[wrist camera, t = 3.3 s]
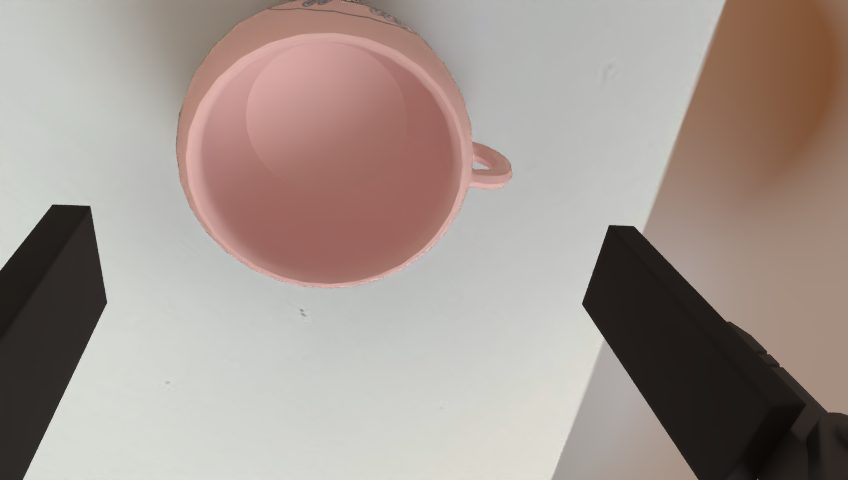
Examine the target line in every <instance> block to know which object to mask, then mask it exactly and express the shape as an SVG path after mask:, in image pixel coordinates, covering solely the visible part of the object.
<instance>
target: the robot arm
mask: <svg viewBox="0 0 848 480" xmlns="http://www.w3.org/2000/svg"><path fill="white" fill-rule="evenodd" d="M106 304H107V299H106V293H105V288H104V282H103V276H102V271H101V265H100V259H99V253H98V248H97V242H96V236H95V230H94V225H93V219H92V213H91V207H90V206H78V205H52V206H51V207H50V209H49V210H48V211H47V212H46V214H45V215H44V216H43V218H42V219H41V220H40V221H39V223H38V224H37V225H36V226H35V228H34V229H33V230H32V231H31V233H30V234H29V235H28V236H27V238H26V239H25V240H24V241H23V243H22V244H21V245H20V247H19V248H18V249H17V250H16V252H15V253H14V254H13V255H12V257H11V258H10V259H9V260H8V262H7V263H6V264H5V265H4V267H3V268H2V269H1V270H0V480H23V478H24V476H25V474H26V472H27V470H28V468H29V465H30V463H31V461H32V459H33V457H34V455H35V453H36V451H37V449H38V447H39V444H40V442H41V440H42V438H43V436H44V434H45V432H46V430H47V428H48V426H49V423H50V421H51V419H52V417H53V415H54V413H55V411H56V409H57V407H58V405H59V402H60V400H61V398H62V396H63V394H64V392H65V390H66V388H67V386H68V384H69V381H70V379H71V377H72V375H73V373H74V371H75V369H76V367H77V365H78V363H79V360H80V358H81V356H82V354H83V352H84V350H85V348H86V346H87V344H88V342H89V339H90V337H91V335H92V333H93V331H94V329H95V327H96V325H97V323H98V321H99V318H100V316H101V314H102V312H103V310H104V308H105V306H106ZM582 305H583V307H584V308H585V310H586V311H587V313H588V314H589V316H590V317H591V319H592V320H593V322H594V323H595V325H596V326H597V328H598V329H599V331H600V332H601V334H602V335H603V337H604V338H605V340H606V341H607V343H608V344H609V345H610V347H611V349H612V350H613V352H614V353H615V355H616V356H617V358H618V359H619V361H620V362H621V364H622V365H623V367H624V368H625V370H626V371H627V372H628V374H629V376H630V377H631V379H632V380H633V382H634V383H635V385H636V386H637V388H638V389H639V391H640V392H641V394H642V395H643V397H644V398H645V400H646V401H647V403H648V404H649V406H650V407H651V409H652V410H653V412H654V413H655V415H656V416H657V418H658V419H659V421H660V423H661V424H662V426H663V427H664V429H665V430H666V432H667V433H668V435H669V436H670V438H671V439H672V441H673V442H674V443H675V445H676V447H677V448H678V450H679V451H680V452H681V454H682V456H683V457H684V459H685V460H686V462H687V463H688V465H689V466H690V468H691V469H692V471H693V472H694V474H695V475H696V477H697V478H698V480H757V479H758V480H848V415H845V414H842V413H828V412H827V411H826V410H825V409H824V408H823V407H822V406H821V405H820V404H819V403H818V402H817V401H816V400H815V399H814V398H813V397H812V396H811V395H810V394H809V393H808V392H807V391H806V390H805V389H804V388H803V387H802V386H801V385H800V384H799V383H798V382H797V381H796V380H795V379H794V378H793V377H792V376H791V375H790V374H789V373H788V372H787V371H786V370H785V369H784V368H783V367H780V366H779V363H778V362H777V361H776V360H775V359H774V358H773V357H772V356H771V355H770V354H767V351H766V350H765V349H764V348H763V347H762V346H761V345H760V344H759V343H758V342H757V341H756V340H755V339H754V338H753V337H752V336H751V335H750V334H748V333H747V332H745V331H744V330H742V329H741V328H739V327H738V326H736V325H734V324H733V323H731V322H726V321H725V320H724V319H723V318H722V317H721V316H720V315H719V314H718V313H717V312H716V311H715V310H714V309H713V308H712V306H710V304H709V303H708V302H707V301H706V300H705V299H704V298H703V297H702V296H701V295H700V294H699V293H698V292H697V291H696V290H695V289H694V288H693V287H692V286H691V285H690V284H689V283H688V282H687V281H686V280H685V279H684V278H683V277H682V276H681V275H680V274H679V272H677V271H676V269H675V268H674V267H673V266H672V265H671V264H670V263H669V262H668V261H667V260H666V259H665V258H664V257H663V256H662V255H661V254H660V253H659V252H658V251H657V250H656V249H655V248H654V247H653V246H652V245H651V244H650V242H649V241H647V239H646V238H645V237H643V235H642V234H641V233H640V232H639V231H638V230H637V229H636V228H635V227H634V226H616V225H609V227H608V230H607V233H606V236H605V239H604V242H603V244H602V247H601V250H600V253H599V256H598V259H597V262H596V265H595V268H594V271H593V274H592V276H591V279H590V282H589V285H588V288H587V291H586V294H585V297H584V300H583V303H582Z"/></svg>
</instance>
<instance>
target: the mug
mask: <svg viewBox="0 0 848 480" xmlns="http://www.w3.org/2000/svg"><path fill="white" fill-rule="evenodd" d="M176 154H177V161H178V168H179V176H180V182H181V184H182V187H183V190H184V192H185V195H186V197H187V200H188V203H189V205H190V208H191V210H192V211H193V213H194V214H195V216H196V217H197V219H198V220H199V222H200V223H201V225H202V226H203V228H204V229H205V231H206V232H207V233H208V234H209V235H210V236H211V237H212V238H213V239H214V240H215V241H216V242H217V243H218V244H219V245H220V246H221V247H222V248H223V249H224V250H225V251H226V252H227V253H229V254H230V255H232V256H233V257H235V258H236V259H238V260H239V261H241V262H242V263H244V264H245V265H247V266H248V267H250V268H251V269H253V270H255V271H257V272H259V273H262V274H264V275H266V276H269V277H271V278H273V279H276V280H278V281H283V282H287V283H291V284H295V285H300V286H304V287H319V288H337V287H347V286H356V285H360V284H364V283H367V282H371V281H375V280H378V279H382V278H384V277H386V276H388V275H390V274H392V273H394V272H396V271H399V270H401V269H403V268H405V267H406V266H408V265H409V264H411V263H412V262H413V261H415V260H416V259H418V258H419V257H420V256H422V255H423V254H425V253H426V252H427V251H428V250H429V249H430V248H431V247H432V246H433V245H434V244H435V243H436V242H437V241H438V240H439V239H440V237H441V236H442V235H443V234H444V233H445V232H446V231H447V229H448V228H449V226H450V225H451V223H452V222H453V220H454V218H455V217H456V215H457V214H458V212H459V211H460V209H461V206H462V203H463V201H464V198H465V195H466V193H467V190H468V188H469V187H475V188H479V189H498V188H502V187H504V186H505V185H506V184H507V182H508V181H509V180H510V179H511V177H512V169H511V164H510V162H509V161H508V159H507V158H505V157H504V156H503V155H502V154H500V153H499V152H497V151H495V150H493V149H491V148H489V147H487V146H485V145H482V144H479V143H475V142H472V131H471V123H470V120H469V117H468V113H467V110H466V107H465V103H464V100H463V97H462V94H461V92H460V90H459V88H458V87H457V85H456V83H455V81H454V80H453V78H452V76H451V74H450V73H449V71H448V69H447V67H446V65H445V64H444V62H443V61H442V60H441V59H440V58H439V57H438V56H437V55H436V53H435V52H434V51H433V50H432V49H431V48H430V47H429V46H428V45H427V44H426V42H425V41H424V40H423V39H422V38H421V37H420V36H419V35H418V34H416V33H415V32H414V31H412V30H411V29H409V28H408V27H407V26H405V25H404V24H402V23H401V22H399V21H398V20H397V19H395V18H394V17H392V16H389V15H387V14H385V13H382V12H380V11H377V10H375V9H373V8H370V7H368V6H366V5H362V4H357V3H351V2H346V1H341V0H297V1H293V2H290V3H286V4H282V5H278V6H275V7H271V8H267V9H265V10H263V11H261V12H260V13H258V14H256V15H254V16H252V17H250V18H248V19H247V20H245V21H243V22H241V23H239V24H238V25H237V26H235V27H234V28H233V29H232V30H231V31H230V32H229V33H228V34H227V35H225V36H224V37H223V38H222V39H221V40H220V41H219V42H218V43H216V44H215V45H214V47H213V48H212V49H211V50H210V52H209V53H208V55H207V56H206V58H205V59H204V61H203V62H202V64H201V65H200V67H199V68H198V70H197V71H196V72H195V74H194V75H193V77H192V80H191V83H190V85H189V88H188V91H187V94H186V96H185V99H184V102H183V104H182V107H181V110H180V113H179V120H178V130H177V139H176ZM473 161H476V162H479V163H481V164H483V165H485V166H486V167H488V168H489V169H490V170H485V169H476V170H475V169H473V168H472V165H473Z"/></svg>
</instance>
